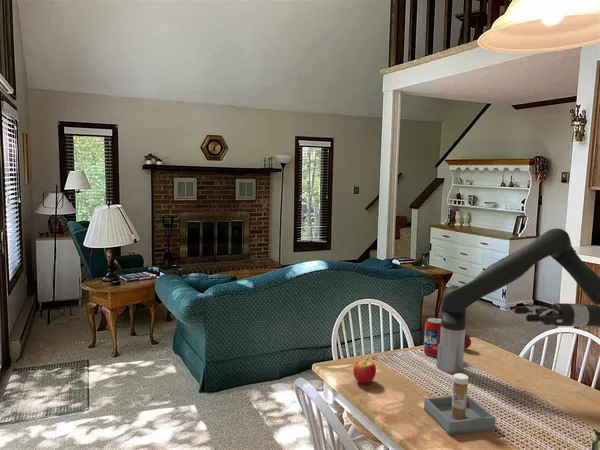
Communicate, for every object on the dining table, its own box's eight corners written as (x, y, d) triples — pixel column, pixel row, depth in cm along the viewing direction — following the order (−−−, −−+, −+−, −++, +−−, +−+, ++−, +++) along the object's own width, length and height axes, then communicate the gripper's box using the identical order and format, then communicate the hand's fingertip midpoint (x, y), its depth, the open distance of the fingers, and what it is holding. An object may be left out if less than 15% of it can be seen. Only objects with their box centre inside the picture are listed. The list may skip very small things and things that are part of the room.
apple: (365, 389, 175) (366, 362, 173) (348, 381, 181) (349, 355, 180) (380, 382, 180) (381, 356, 179) (362, 375, 186) (363, 350, 185)
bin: (448, 435, 145) (449, 422, 145) (423, 409, 160) (424, 398, 160) (494, 429, 149) (495, 417, 148) (466, 405, 164) (467, 394, 164)
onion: (471, 352, 212) (472, 335, 211) (457, 351, 213) (458, 333, 212) (469, 348, 217) (470, 330, 217) (456, 346, 219) (457, 329, 218)
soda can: (446, 355, 208) (448, 321, 207) (433, 358, 204) (435, 324, 202) (432, 349, 215) (434, 316, 213) (419, 352, 211) (421, 318, 209)
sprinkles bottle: (448, 416, 154) (451, 375, 153) (454, 411, 158) (456, 371, 156) (462, 421, 152) (465, 380, 150) (468, 415, 155) (470, 375, 153)
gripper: (558, 298, 168) (512, 297, 167) (582, 310, 153) (531, 309, 153) (557, 319, 168) (510, 318, 168) (580, 333, 154) (529, 332, 154)
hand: (520, 313), depth 161 cm, fingers open, 8 cm apart
